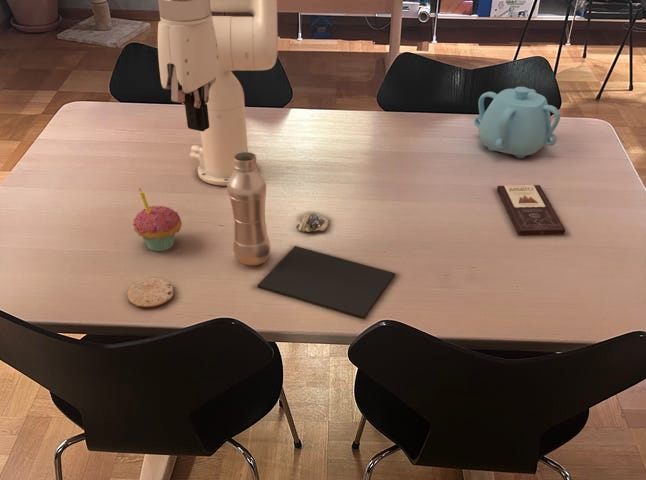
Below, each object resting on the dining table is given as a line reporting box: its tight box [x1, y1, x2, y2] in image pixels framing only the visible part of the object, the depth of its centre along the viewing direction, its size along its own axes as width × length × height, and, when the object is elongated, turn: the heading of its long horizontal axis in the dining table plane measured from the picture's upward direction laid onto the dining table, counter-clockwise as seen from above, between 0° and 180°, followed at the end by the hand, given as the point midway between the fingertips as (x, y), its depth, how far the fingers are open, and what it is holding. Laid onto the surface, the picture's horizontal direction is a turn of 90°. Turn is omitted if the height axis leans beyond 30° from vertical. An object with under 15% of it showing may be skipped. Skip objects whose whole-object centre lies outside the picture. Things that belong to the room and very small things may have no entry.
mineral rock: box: [296, 213, 330, 233], centre depth 140 cm, size 7×8×2 cm
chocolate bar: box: [496, 184, 566, 236], centre depth 145 cm, size 9×1×18 cm
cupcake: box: [132, 187, 183, 252], centre depth 130 cm, size 9×8×12 cm
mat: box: [257, 245, 396, 320], centre depth 126 cm, size 20×14×1 cm
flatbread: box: [127, 277, 174, 308], centre depth 122 cm, size 8×8×1 cm
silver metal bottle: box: [226, 151, 272, 266], centre depth 124 cm, size 6×7×20 cm
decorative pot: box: [473, 86, 561, 159], centre depth 163 cm, size 16×16×14 cm
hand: (198, 128), depth 117 cm, fingers closed
